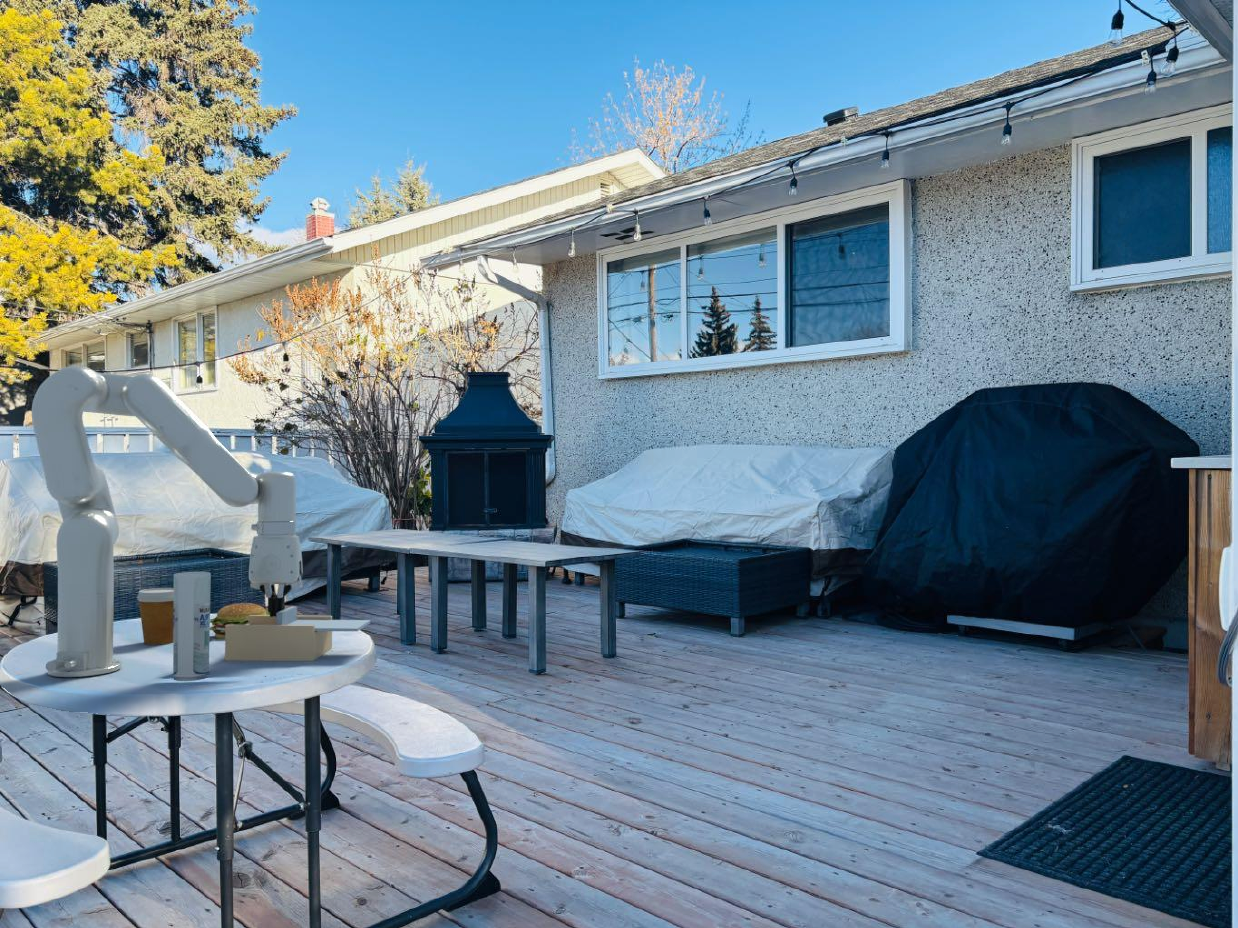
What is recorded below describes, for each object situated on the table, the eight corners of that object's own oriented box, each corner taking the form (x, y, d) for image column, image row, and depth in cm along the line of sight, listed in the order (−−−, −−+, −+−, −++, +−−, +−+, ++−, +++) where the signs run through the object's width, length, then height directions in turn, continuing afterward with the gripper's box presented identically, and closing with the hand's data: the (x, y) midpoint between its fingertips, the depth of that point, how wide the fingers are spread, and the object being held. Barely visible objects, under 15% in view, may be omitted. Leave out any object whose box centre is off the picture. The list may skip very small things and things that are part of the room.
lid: (357, 631, 189) (357, 614, 189) (271, 630, 189) (272, 613, 189) (370, 622, 200) (370, 606, 200) (289, 622, 200) (289, 605, 200)
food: (235, 644, 209) (236, 609, 209) (198, 638, 217) (199, 604, 217) (286, 635, 221) (286, 602, 221) (249, 629, 228) (250, 597, 228)
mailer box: (312, 664, 188) (313, 625, 188) (224, 664, 188) (225, 625, 188) (331, 652, 201) (332, 615, 201) (249, 651, 201) (249, 615, 201)
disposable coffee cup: (169, 646, 206) (169, 593, 206) (127, 646, 206) (128, 592, 206) (190, 638, 215) (190, 587, 215) (150, 638, 215) (150, 587, 215)
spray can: (180, 673, 179) (181, 571, 179) (214, 673, 179) (216, 571, 179) (166, 681, 172) (167, 575, 172) (201, 681, 173) (203, 575, 173)
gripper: (234, 530, 191) (233, 618, 191) (306, 531, 191) (305, 618, 191) (248, 528, 198) (247, 613, 198) (317, 528, 198) (317, 613, 198)
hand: (276, 615), depth 195 cm, fingers closed
